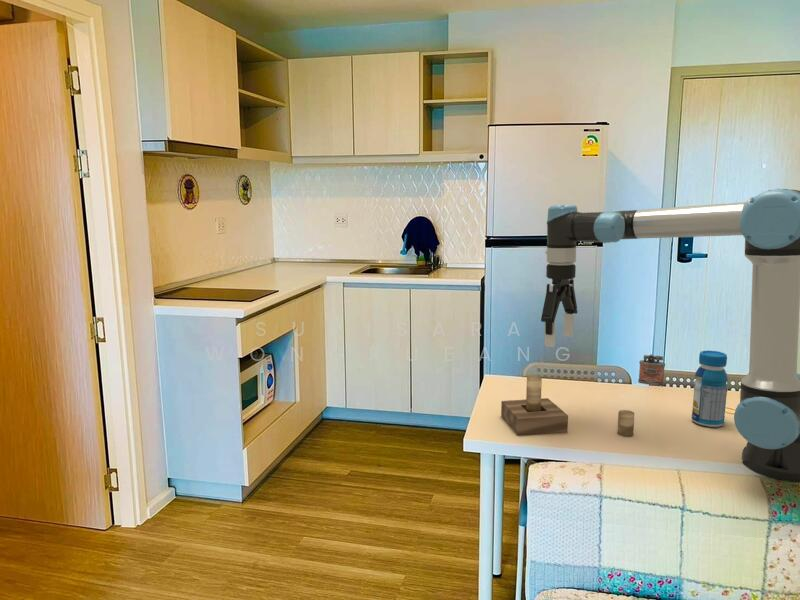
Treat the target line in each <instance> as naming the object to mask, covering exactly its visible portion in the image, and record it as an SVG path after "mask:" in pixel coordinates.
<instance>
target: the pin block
mask: <svg viewBox="0 0 800 600" xmlns="http://www.w3.org/2000/svg"><path fill="white" fill-rule="evenodd" d="M500 403H501V406H500V407H501V409H500V413H501V414H500V417H501V419H503V421H504V422H505V423H506V424H507V425H508V427H509V428H510V429H511V430H512V431H513V433H516V434H515V435H516V436H517V437H522V436H540V435H542V436H543V435H555V434H556V435H557V434H568V429H569V428H568V426H569V414H567V413H566V412H565V411H564V410H562V408H561V407H559V406H558V405H557V404H555V403H554V402H553V401H551V399H550V398H548V397H545V398H541V411H537V412H527V411H526V399H513V400H512V399H510V400H501V402H500Z"/></svg>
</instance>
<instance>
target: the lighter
mask: <svg viewBox="0 0 800 600" xmlns="http://www.w3.org/2000/svg"><path fill="white" fill-rule="evenodd" d="M662 361H664V356H662V355H654V354H653V353H651V354H643V360H642V359H641V360H639V361H638V362H639V373H638V374H639V375H638V381H637V382H638V383H639V384H643V385H649V386H657V387H658V386H659V387H662V386H663V387H664V385H665V382H664V379H665V367H666V363H665V362H662Z"/></svg>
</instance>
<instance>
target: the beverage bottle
mask: <svg viewBox="0 0 800 600" xmlns="http://www.w3.org/2000/svg"><path fill="white" fill-rule="evenodd" d="M727 362H728V355H727V353H724V352H721V351H717V350H702V351H700V352H699V355H698V363H699V365H700V366H699V367H698V368H697V369H696V371H695V374H694V377H695V380H694V381H693V399H692V410H691V420H692V422H694V423H695V424H697V425H700V426H704V427H708V428H709V427H711V428H718V427H721V426H724V424H725V416H726V415H725V414H726V404H727V396H728V390H729V387H728V384H727V382H728V381H729V375H728V373H727V371H726V370H725V367H726V366H727V364H728V363H727Z"/></svg>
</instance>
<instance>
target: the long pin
mask: <svg viewBox="0 0 800 600" xmlns="http://www.w3.org/2000/svg"><path fill="white" fill-rule="evenodd" d="M542 379H543V377H542V375H539V374H528V375H527V376H526V390H525V391H526V393H525V394H526V395H525V396H526V397H525V398H526V399H525V400H526V411H527V412H537V411H541V399H542V384H543V383H542Z"/></svg>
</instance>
